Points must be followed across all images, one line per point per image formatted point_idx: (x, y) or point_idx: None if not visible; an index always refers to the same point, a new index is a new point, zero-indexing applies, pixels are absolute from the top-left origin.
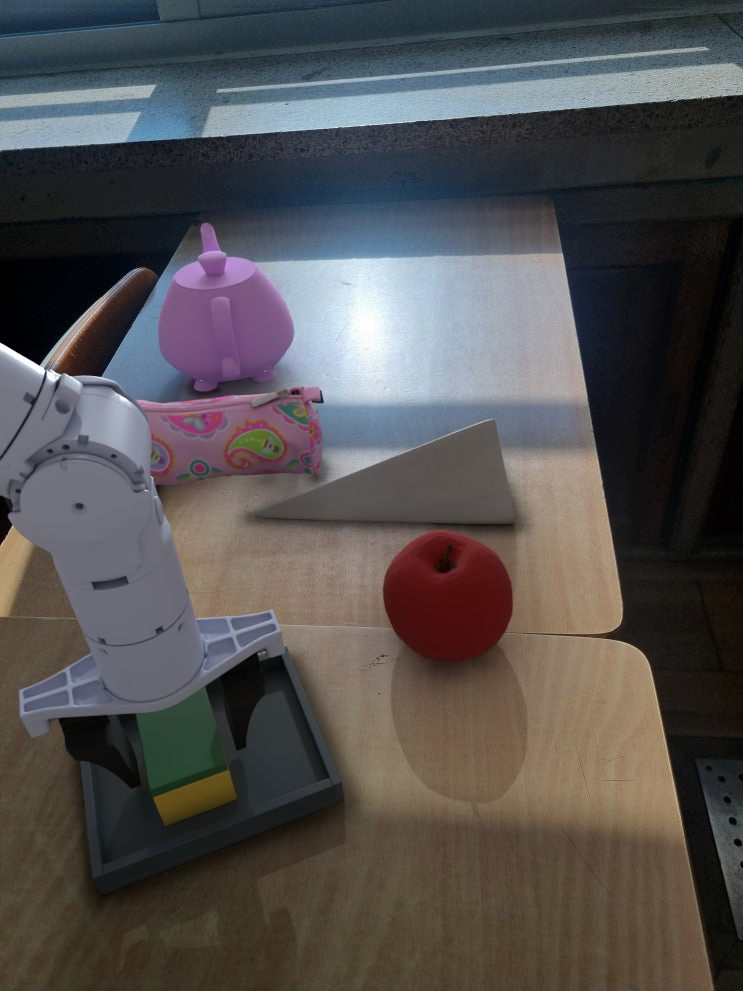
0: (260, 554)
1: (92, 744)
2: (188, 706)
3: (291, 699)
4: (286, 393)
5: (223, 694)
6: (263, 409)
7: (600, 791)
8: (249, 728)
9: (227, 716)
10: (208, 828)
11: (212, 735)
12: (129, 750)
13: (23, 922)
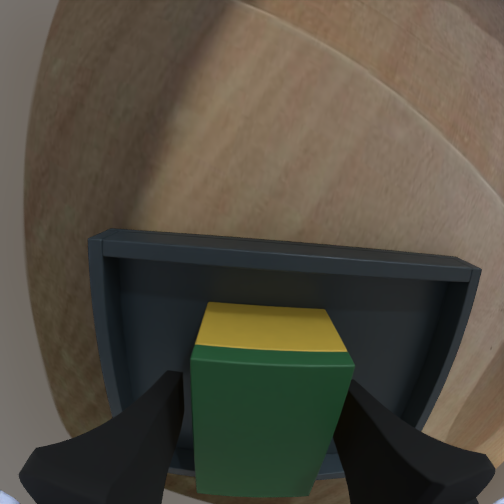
0: (474, 18)
1: None
2: (299, 420)
3: (429, 332)
4: None
5: (368, 437)
6: None
7: (497, 452)
8: (360, 356)
9: (348, 416)
10: None
11: (311, 469)
12: (171, 416)
13: (69, 418)
